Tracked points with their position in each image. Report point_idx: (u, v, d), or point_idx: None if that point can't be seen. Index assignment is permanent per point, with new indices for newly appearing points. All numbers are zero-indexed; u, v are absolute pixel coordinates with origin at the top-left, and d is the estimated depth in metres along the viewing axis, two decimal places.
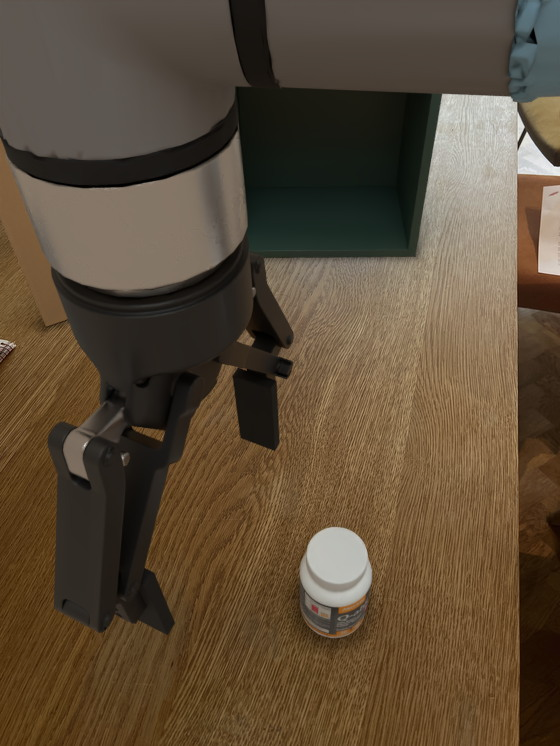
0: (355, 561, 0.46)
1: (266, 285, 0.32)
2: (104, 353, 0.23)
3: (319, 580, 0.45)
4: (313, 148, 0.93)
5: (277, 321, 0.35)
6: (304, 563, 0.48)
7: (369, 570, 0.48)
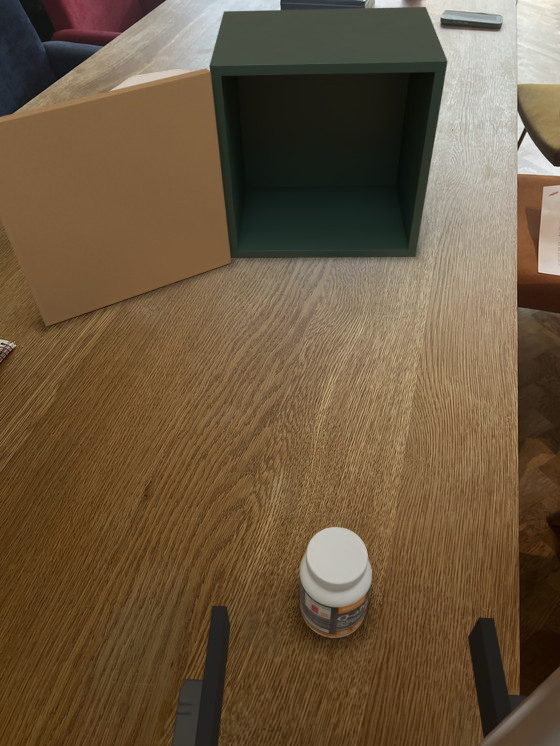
0: (355, 561, 0.46)
1: None
2: None
3: (319, 580, 0.45)
4: (313, 148, 0.93)
5: None
6: (304, 563, 0.48)
7: (369, 570, 0.48)
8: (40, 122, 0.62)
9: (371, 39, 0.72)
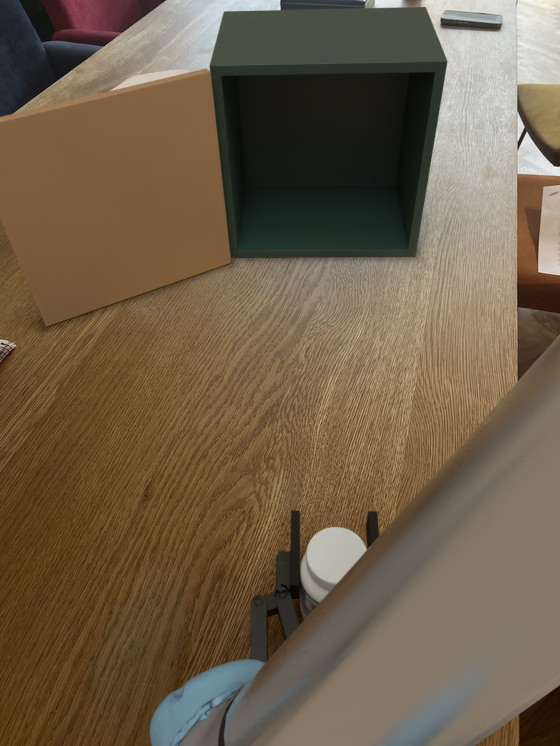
0: (355, 561, 0.46)
1: None
2: None
3: (319, 580, 0.45)
4: (313, 148, 0.93)
5: (260, 647, 0.44)
6: (304, 563, 0.48)
7: None
8: (40, 122, 0.62)
9: (371, 39, 0.72)
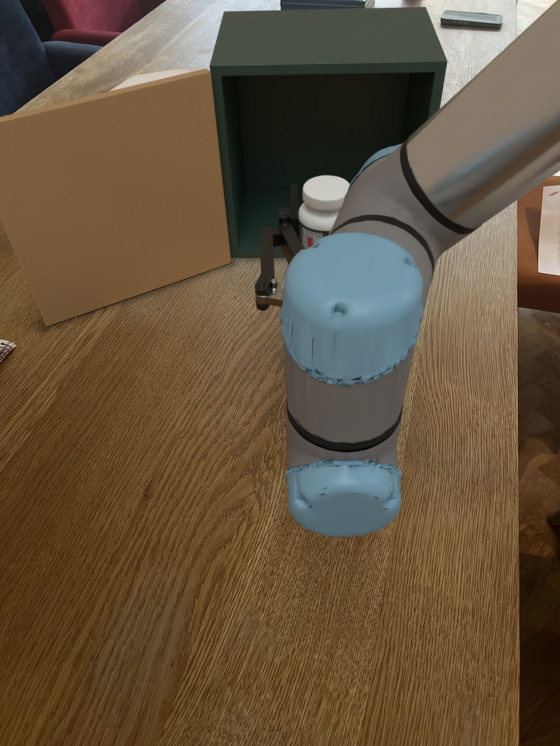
0: (341, 190, 0.58)
1: (262, 272, 0.55)
2: None
3: (313, 202, 0.58)
4: (313, 148, 0.93)
5: (267, 248, 0.57)
6: (301, 206, 0.61)
7: None
8: (40, 122, 0.62)
9: (371, 39, 0.72)
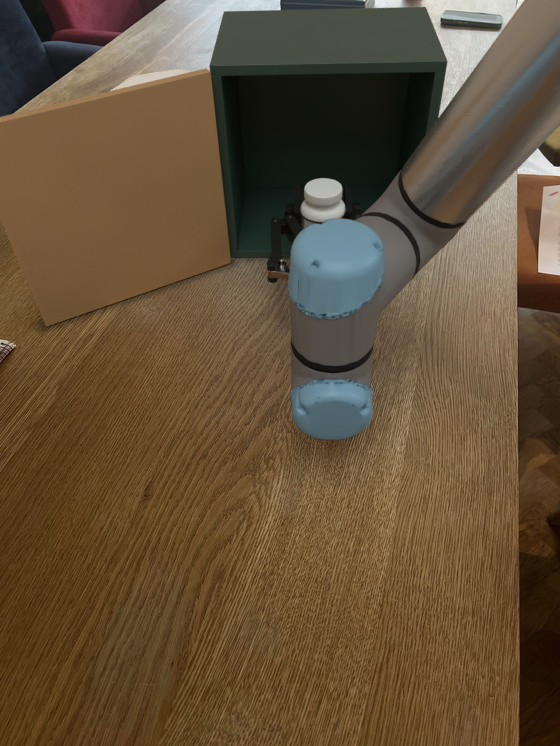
0: (334, 190, 0.74)
1: (272, 253, 0.71)
2: None
3: (312, 199, 0.74)
4: (313, 148, 0.93)
5: (276, 235, 0.73)
6: (303, 203, 0.77)
7: (343, 205, 0.76)
8: (40, 122, 0.62)
9: (371, 39, 0.72)
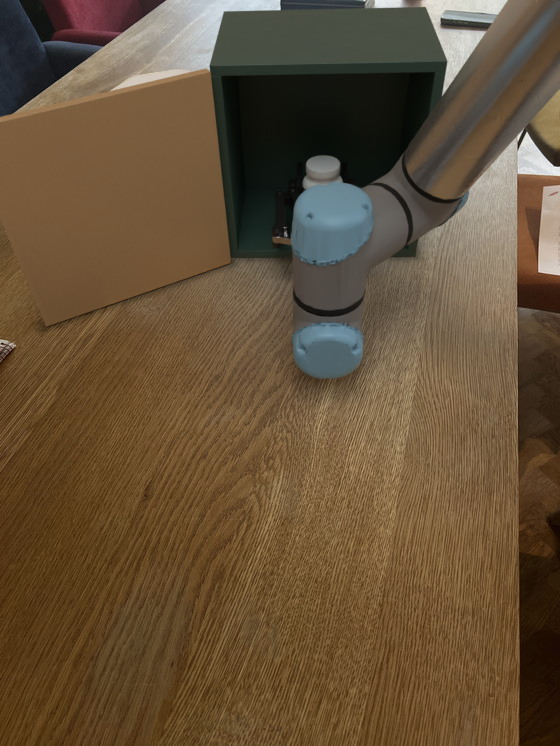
0: (333, 165, 0.83)
1: (277, 221, 0.79)
2: None
3: (313, 173, 0.82)
4: (313, 148, 0.93)
5: (280, 206, 0.82)
6: (305, 177, 0.85)
7: (341, 179, 0.85)
8: (40, 122, 0.62)
9: (371, 39, 0.72)
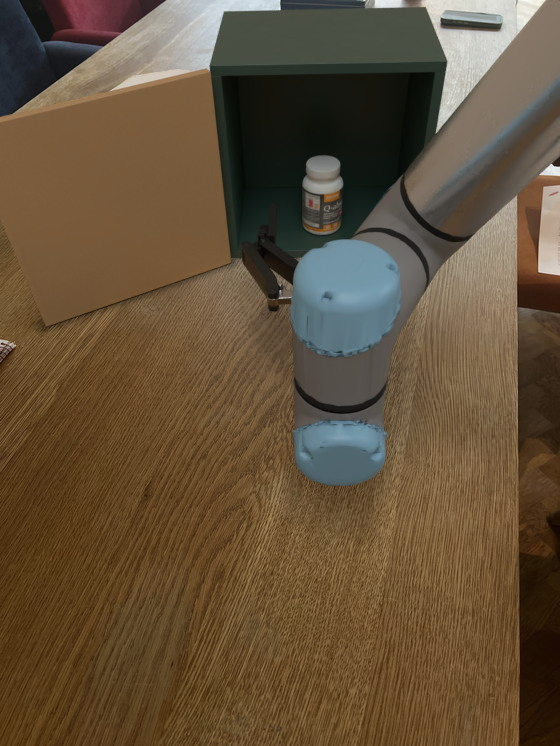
0: (333, 165, 0.83)
1: (266, 279, 0.63)
2: None
3: (313, 173, 0.82)
4: (313, 148, 0.93)
5: (258, 259, 0.66)
6: (305, 177, 0.85)
7: (341, 179, 0.85)
8: (40, 122, 0.62)
9: (371, 39, 0.72)
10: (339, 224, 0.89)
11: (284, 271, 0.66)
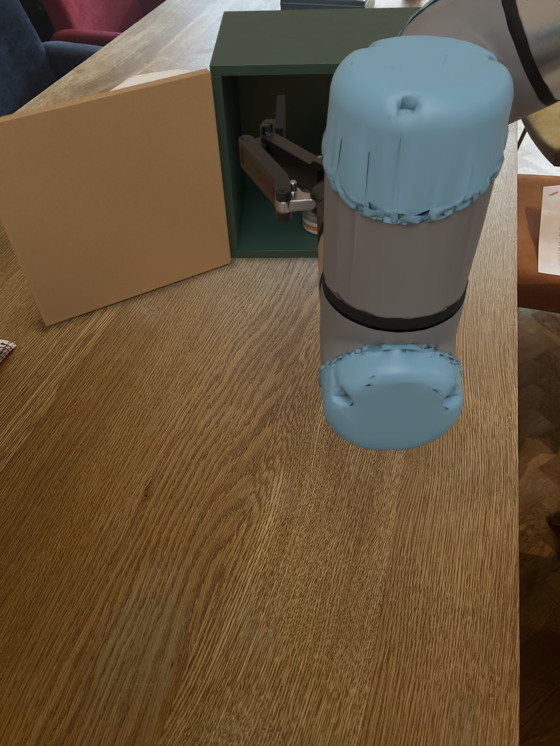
0: None
1: (274, 177, 0.46)
2: None
3: None
4: (313, 148, 0.93)
5: (262, 155, 0.49)
6: None
7: None
8: (40, 122, 0.62)
9: (371, 39, 0.72)
10: None
11: (297, 172, 0.49)
